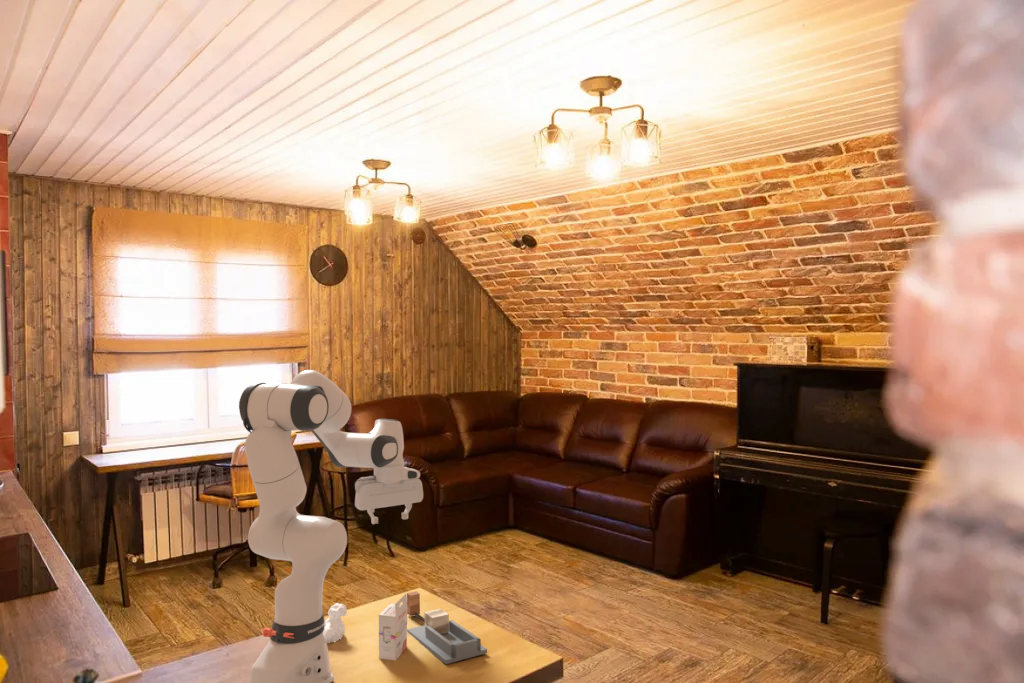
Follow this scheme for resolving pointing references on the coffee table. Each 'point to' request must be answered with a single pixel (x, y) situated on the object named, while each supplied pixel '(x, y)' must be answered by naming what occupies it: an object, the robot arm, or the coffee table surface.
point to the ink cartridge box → (393, 630)
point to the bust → (334, 623)
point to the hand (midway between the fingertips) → (390, 521)
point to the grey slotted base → (449, 642)
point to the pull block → (428, 614)
